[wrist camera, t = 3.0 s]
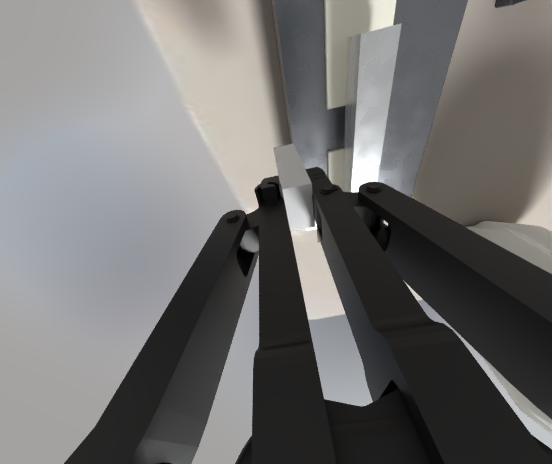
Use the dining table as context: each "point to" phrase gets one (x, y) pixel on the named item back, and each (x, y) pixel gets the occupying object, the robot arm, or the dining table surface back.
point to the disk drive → (506, 3)
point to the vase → (539, 251)
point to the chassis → (404, 95)
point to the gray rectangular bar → (367, 102)
